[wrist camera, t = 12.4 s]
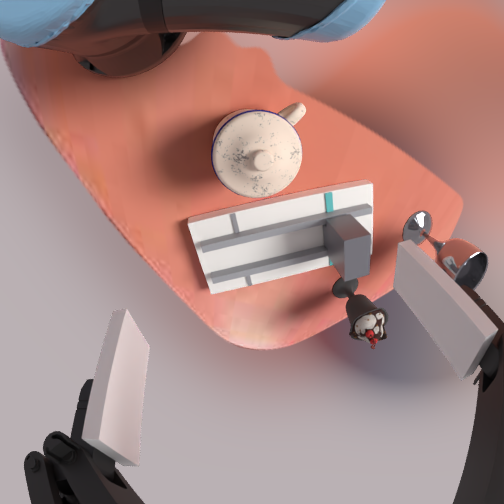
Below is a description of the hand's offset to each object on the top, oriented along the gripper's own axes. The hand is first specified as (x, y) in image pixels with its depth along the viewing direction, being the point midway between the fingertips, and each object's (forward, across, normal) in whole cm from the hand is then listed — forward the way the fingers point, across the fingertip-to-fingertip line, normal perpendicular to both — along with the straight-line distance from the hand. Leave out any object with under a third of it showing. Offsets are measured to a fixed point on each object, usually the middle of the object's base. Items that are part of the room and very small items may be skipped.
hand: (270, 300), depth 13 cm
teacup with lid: (+27, +4, +3) cm, 27 cm away
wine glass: (+27, +30, -17) cm, 44 cm away
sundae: (+27, +15, -25) cm, 40 cm away
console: (+27, +6, -12) cm, 30 cm away
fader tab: (+24, +12, -12) cm, 30 cm away
